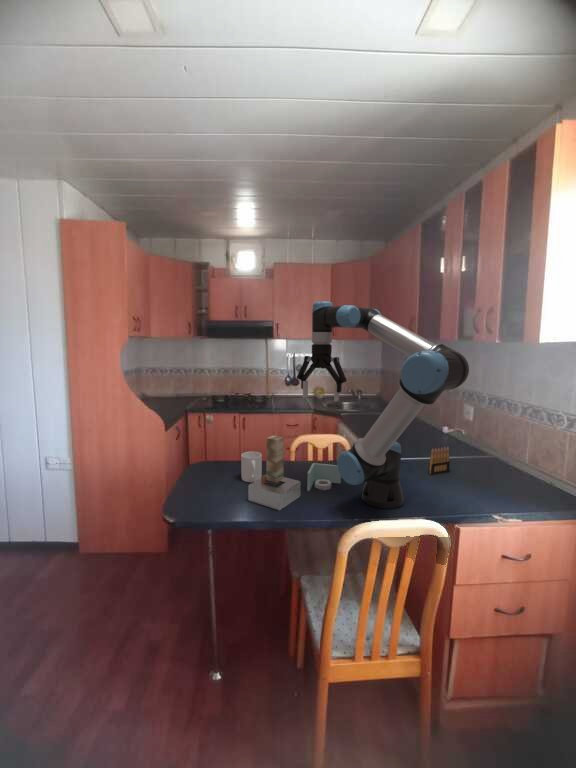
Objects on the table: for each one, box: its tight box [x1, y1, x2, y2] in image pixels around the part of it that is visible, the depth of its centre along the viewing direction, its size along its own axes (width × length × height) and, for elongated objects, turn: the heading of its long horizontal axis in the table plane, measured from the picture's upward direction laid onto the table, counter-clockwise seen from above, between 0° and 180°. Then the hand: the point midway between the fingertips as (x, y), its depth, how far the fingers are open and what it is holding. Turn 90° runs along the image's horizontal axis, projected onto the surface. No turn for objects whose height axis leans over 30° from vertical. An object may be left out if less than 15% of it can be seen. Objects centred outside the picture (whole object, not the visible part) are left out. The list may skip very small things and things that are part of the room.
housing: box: [247, 473, 301, 511], centre depth 137 cm, size 14×14×8 cm
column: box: [265, 435, 285, 483], centre depth 136 cm, size 5×5×16 cm
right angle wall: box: [306, 462, 342, 492], centre depth 149 cm, size 12×12×8 cm
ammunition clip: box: [427, 446, 451, 476], centre depth 165 cm, size 11×2×12 cm, turn 112°
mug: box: [240, 451, 263, 483], centre depth 154 cm, size 9×12×11 cm
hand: (320, 399), depth 141 cm, fingers open, 13 cm apart
